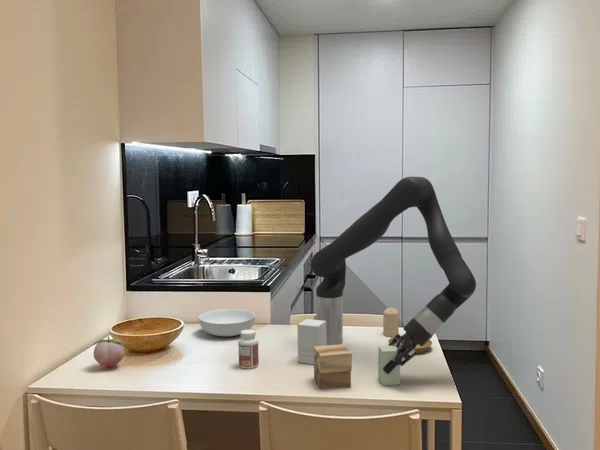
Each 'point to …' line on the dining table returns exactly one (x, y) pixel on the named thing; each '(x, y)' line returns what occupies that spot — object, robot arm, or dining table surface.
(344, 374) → the walnut block
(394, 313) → the candle
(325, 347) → the oak block
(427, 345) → the plant saucer
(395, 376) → the sage block
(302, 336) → the supplement box
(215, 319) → the serving bowl
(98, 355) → the decorative fruit
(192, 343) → the dining table surface
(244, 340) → the pill bottle
